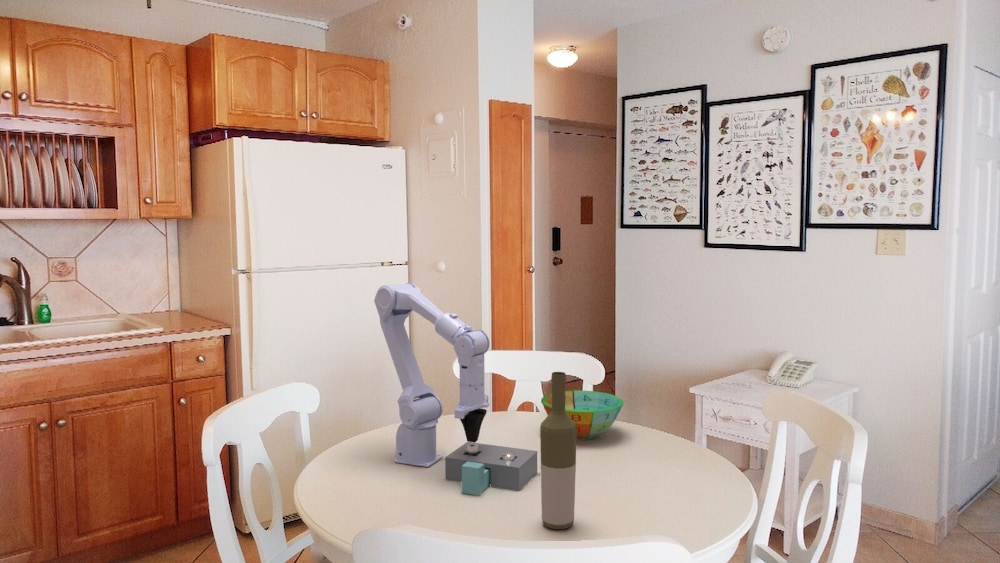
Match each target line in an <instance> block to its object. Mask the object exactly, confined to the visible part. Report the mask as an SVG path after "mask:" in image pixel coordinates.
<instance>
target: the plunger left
mask: <svg viewBox="0 0 1000 563" xmlns="http://www.w3.org/2000/svg"><path fill="white" fill-rule="evenodd" d="M477 443H478V442H473V443H467V444H466V455H471V456H477V455H478V444H477Z"/></svg>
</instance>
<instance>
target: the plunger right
mask: <svg viewBox="0 0 1000 563" xmlns="http://www.w3.org/2000/svg"><path fill="white" fill-rule="evenodd" d="M502 460H507V461H514V460H515V454H514V453H512V452H505V453H503V454H502Z"/></svg>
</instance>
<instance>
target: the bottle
mask: <svg viewBox="0 0 1000 563" xmlns="http://www.w3.org/2000/svg"><path fill="white" fill-rule="evenodd" d="M566 380H567V376H566V372H563V371H552V372H551V380H550V381H551V393H552V410H551V413H550V414H549V415H547V416H546V417H545V419H544V420H543V421H542V422H541V423H540V427H539V430H540V435H539V436H540V483H541V484H540V489H541V491H540V492H541V495H540V496H541V518H542V519H541V520H542V524H543V526H545V527H547V528H549V529H554V530H564V529H568V528H571V527H572V525H574V522H575V505H576V504H575V501H576V499H575V498H576V496H575V495H576V467H577V465H576V464H577V463H576V462H577V439H576V433H577V429H576V425H575V423H574V422H573V421H572V419H571V418H570V417H569V416H568V415H567V414H566V412H565V391H566V383H567V381H566Z"/></svg>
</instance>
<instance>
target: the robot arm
mask: <svg viewBox="0 0 1000 563" xmlns="http://www.w3.org/2000/svg"><path fill="white" fill-rule="evenodd" d="M422 291H423V290H422V289H421V287H418V286H417V285H415V284H414V283H413V282H407V283H401V284H392V285H381V286H379V288H378V289H377V291H376V294H375V296H374V300H373V302H374V304H375V307H376V310H377V311H376V312H377V313H378V315H379V323H380V327H381V328H380V329H381V330H382V333H383V336H384V338H385V342H386V344H387V348H388V351H389V353H390V356H391V359H392V363H393V365H394V367H395V371H396V373H397V377H398V380H399V383H400V386H401V388H402V392H401V394H400V396H399V397H398V399H397V404H398V409H399V418H400V421H401V422H402V423H401V424H400V425H399V426H398V428H397V430H396V433H395V454H396V455H395V457H396V458H395V460H394V463H398V464H404V465H412V466H419V467H425V468H429V467H431V466H432V465H434V464H435V463H437V462H438V461H440V460H441V459H442V458H444V455H443V454H437V424H438V423H439V419H440V418H441V417H442V414H443V411H444V410H443V409H444V408H443V403H442V401H441V399H440V398H439V397H438V396H437V394H436V392H435V389H434V388H433V387H432V386H430V385H428V384H426V383H425V382H424V379H423V376H422V372H421V370H420V367H419V364H418V361H417V358H416V355H415V353H414V350H413V347H412V344H411V341H410V338H409V336H408V333H407V332H408V331H407V329H406V327H405V321H406V319H407V318H408V317H409V316H410V315H411V313H412V312H413V311H414V312H415V313H417V314H418V315H419V316H421V317H423V319H426V320H427V321H428V322H430V323H432V324H433V325H434V329H435V333H437V334H438V335H439V336H441V337H442V338H443V339H444V340H446V341H447V342H448V343H449V344H450V345H452V346H453V350H454V352H455V354H456V357H457V363H458V364H459V402H458V405H457V407H456V408H455V409H454V419H458V420H460V423H461V425H462V426H463V427H462V428H463V430H464V435H465V437H466V441H467V442H473V443H478V440H479V436H480V432H481V427H482V423H483V421H484V420H485V416H486V415H487V409H485V408H488V407H489V406H490V402H489V395H488V394H485V354H486V353H487V352H488V350H489V348H490V338H489V336H488V335H487V333H485V331H484V330H483V329H474V328H472V326H471V325H470V324H466V323H465V322H464V321H463V320H461V319H460V318H458V317H459V315H458V314H456V313H455V312H453V313H451V312H446V313H444V312H443V310H441V309H440V308H439V307H437V306H436V305H435V304H434V303H433V302H431V301H430V299H429V298H427V297H426V296H425V295H424V294H423V293H422Z"/></svg>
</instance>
